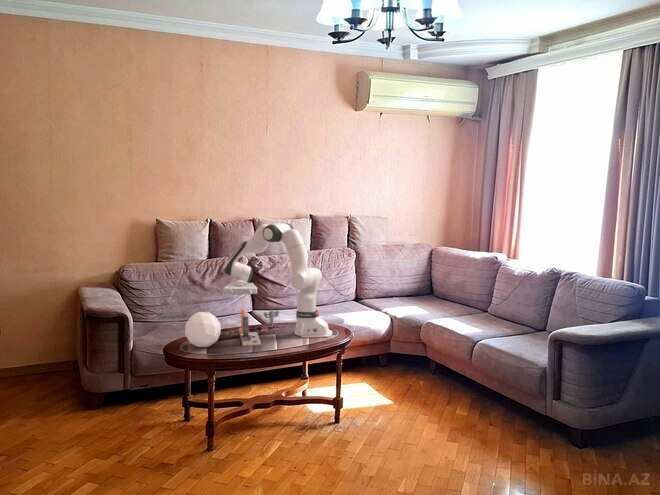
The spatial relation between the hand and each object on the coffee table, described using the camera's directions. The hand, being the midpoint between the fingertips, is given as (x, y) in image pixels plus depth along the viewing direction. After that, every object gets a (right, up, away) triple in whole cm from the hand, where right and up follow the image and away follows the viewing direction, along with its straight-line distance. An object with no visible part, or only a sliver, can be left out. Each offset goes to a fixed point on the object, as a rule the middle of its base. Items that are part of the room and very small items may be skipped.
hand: (241, 293), depth 350 cm
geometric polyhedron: (-17, -27, -28) cm, 43 cm away
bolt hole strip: (+9, -25, -15) cm, 31 cm away
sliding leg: (+3, -22, -9) cm, 24 cm away
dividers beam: (+4, -26, -16) cm, 30 cm away
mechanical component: (+17, -22, +14) cm, 31 cm away
